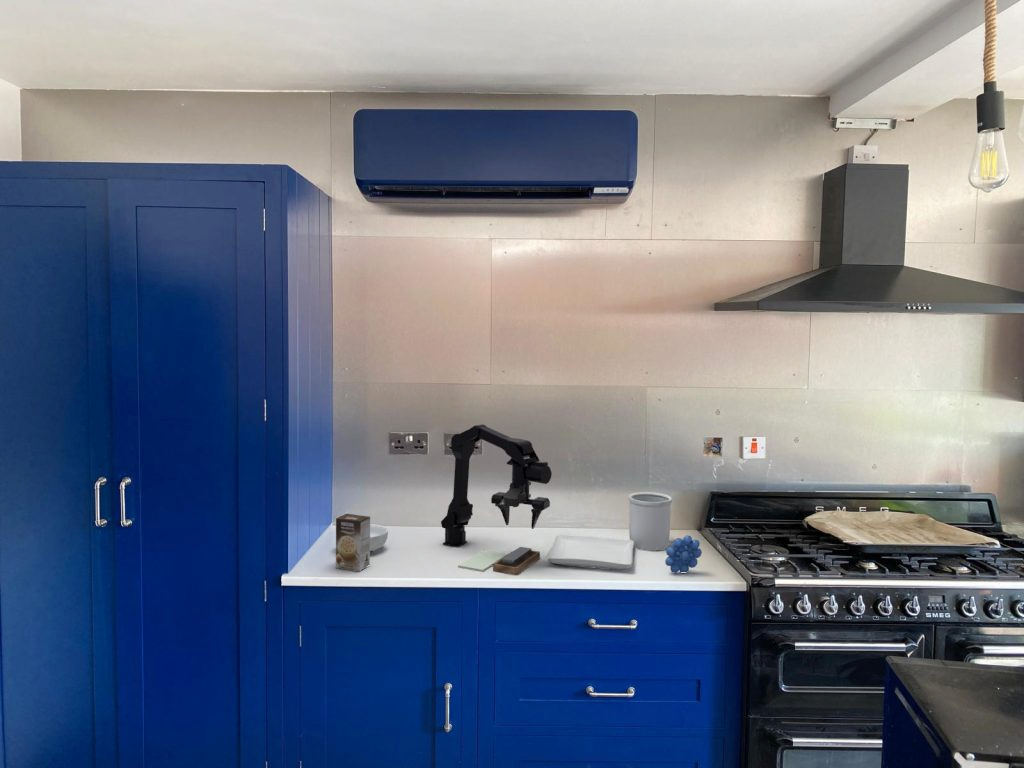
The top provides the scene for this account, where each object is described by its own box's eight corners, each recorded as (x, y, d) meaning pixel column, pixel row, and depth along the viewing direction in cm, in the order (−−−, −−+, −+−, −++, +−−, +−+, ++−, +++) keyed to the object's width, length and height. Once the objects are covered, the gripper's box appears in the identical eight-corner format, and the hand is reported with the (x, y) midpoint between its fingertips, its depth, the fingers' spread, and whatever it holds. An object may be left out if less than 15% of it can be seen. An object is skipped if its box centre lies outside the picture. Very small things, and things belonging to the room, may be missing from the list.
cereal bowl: (341, 561, 215) (341, 539, 215) (333, 546, 230) (332, 526, 230) (393, 554, 222) (393, 533, 222) (381, 541, 237) (381, 521, 237)
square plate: (632, 575, 205) (632, 563, 205) (544, 568, 211) (544, 556, 211) (634, 549, 232) (634, 538, 232) (556, 543, 237) (556, 533, 237)
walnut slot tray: (492, 571, 207) (493, 564, 207) (517, 554, 223) (517, 548, 223) (516, 575, 203) (516, 568, 203) (539, 558, 220) (540, 551, 220)
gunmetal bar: (502, 568, 208) (502, 558, 207) (520, 555, 220) (520, 546, 220) (513, 570, 206) (513, 560, 206) (531, 557, 219) (531, 548, 219)
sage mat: (458, 567, 210) (458, 565, 210) (484, 551, 226) (484, 549, 226) (483, 571, 206) (483, 569, 206) (508, 555, 222) (508, 553, 222)
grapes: (695, 568, 212) (696, 531, 211) (704, 575, 205) (705, 537, 204) (660, 569, 210) (661, 531, 210) (667, 576, 204) (668, 538, 203)
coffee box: (334, 568, 208) (334, 518, 207) (346, 562, 214) (345, 513, 213) (360, 572, 205) (359, 520, 204) (371, 565, 211) (371, 515, 210)
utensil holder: (668, 553, 226) (669, 503, 225) (624, 549, 231) (625, 499, 230) (672, 541, 240) (673, 493, 239) (631, 537, 245) (632, 490, 244)
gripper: (483, 481, 212) (482, 529, 213) (537, 487, 204) (536, 537, 205) (499, 474, 222) (498, 520, 223) (550, 480, 214) (550, 528, 215)
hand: (519, 526), depth 216 cm, fingers open, 9 cm apart
